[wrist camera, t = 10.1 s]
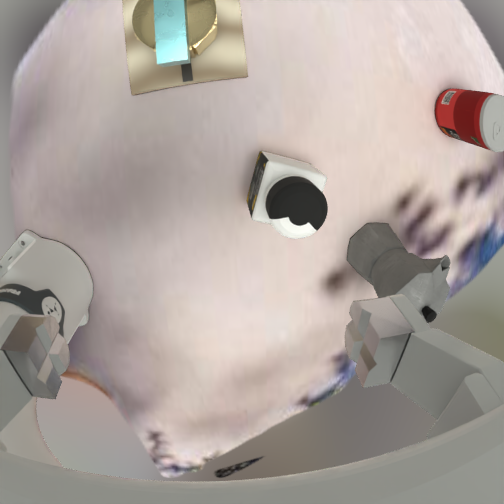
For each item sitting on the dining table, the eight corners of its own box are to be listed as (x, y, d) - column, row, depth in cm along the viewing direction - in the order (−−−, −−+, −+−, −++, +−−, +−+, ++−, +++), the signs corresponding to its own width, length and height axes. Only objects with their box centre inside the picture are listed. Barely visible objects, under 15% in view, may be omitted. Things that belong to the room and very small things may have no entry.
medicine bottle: (259, 149, 39) (275, 170, 29) (311, 163, 41) (344, 188, 30) (245, 201, 42) (256, 239, 32) (295, 212, 44) (321, 252, 33)
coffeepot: (370, 199, 44) (441, 258, 28) (412, 223, 46) (482, 282, 30) (321, 284, 50) (362, 367, 34) (365, 299, 52) (412, 374, 36)
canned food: (433, 136, 40) (481, 152, 30) (432, 85, 36) (482, 90, 26) (467, 137, 40) (514, 153, 30) (466, 90, 36) (515, 98, 27)
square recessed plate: (246, 77, 35) (252, 72, 29) (134, 95, 34) (119, 94, 28) (235, -20, 28) (239, -40, 22) (125, -2, 27) (110, -16, 22)
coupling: (214, -16, 26) (213, -49, 17) (219, 67, 31) (220, 55, 22) (145, -6, 26) (123, -34, 17) (149, 76, 31) (126, 69, 22)
